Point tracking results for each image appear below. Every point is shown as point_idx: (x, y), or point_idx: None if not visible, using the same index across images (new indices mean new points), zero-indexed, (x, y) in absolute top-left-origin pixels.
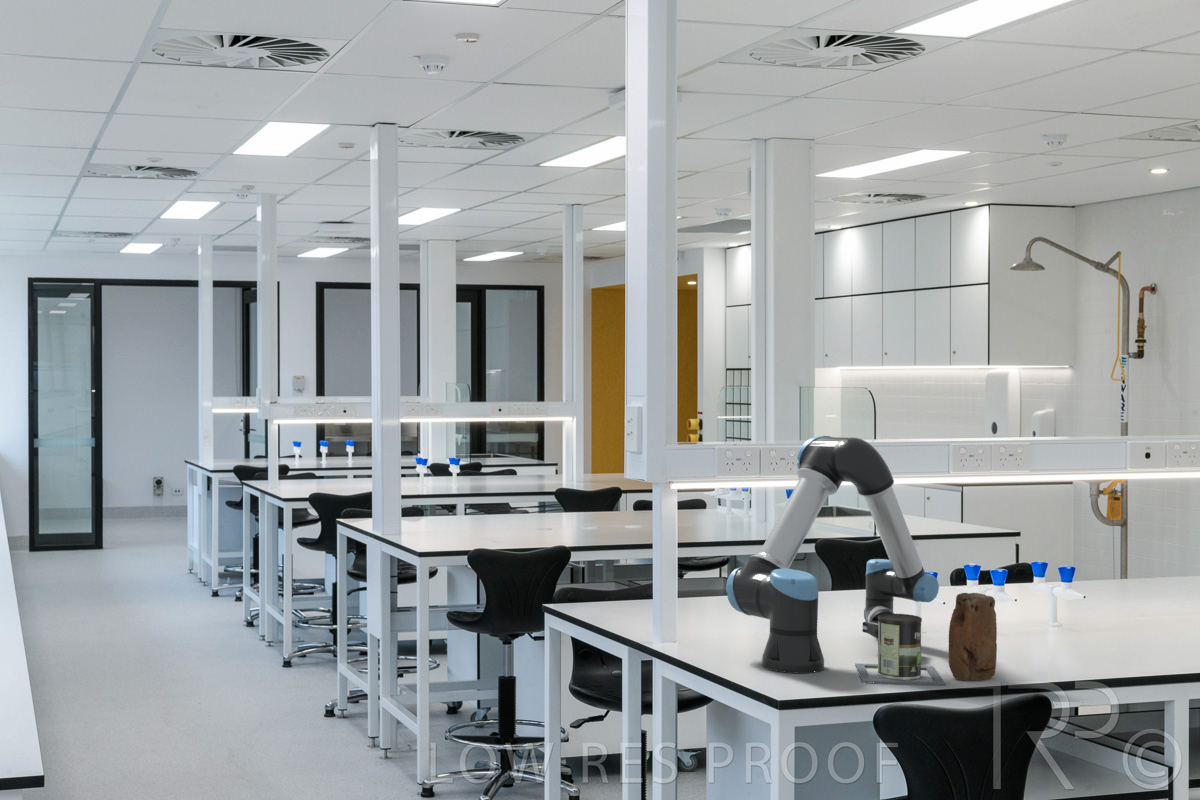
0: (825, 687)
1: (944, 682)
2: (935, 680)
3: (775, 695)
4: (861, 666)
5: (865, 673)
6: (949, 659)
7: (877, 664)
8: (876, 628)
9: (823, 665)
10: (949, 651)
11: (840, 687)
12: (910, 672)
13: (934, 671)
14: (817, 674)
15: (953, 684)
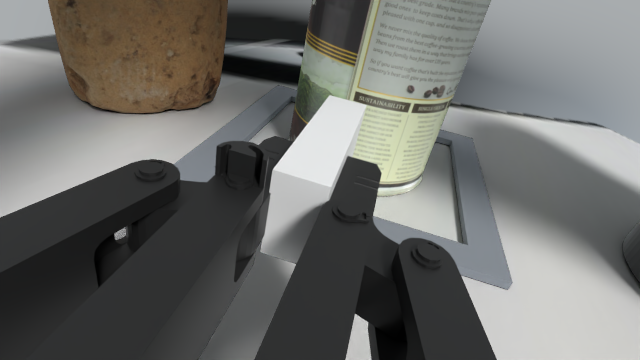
0: (550, 145)
1: (274, 89)
2: (286, 99)
3: (626, 141)
4: (479, 233)
5: (464, 172)
6: (223, 52)
7: None
8: (454, 272)
9: (632, 244)
10: (225, 26)
11: (518, 138)
12: None
13: (223, 135)
14: (615, 219)
15: (249, 90)
